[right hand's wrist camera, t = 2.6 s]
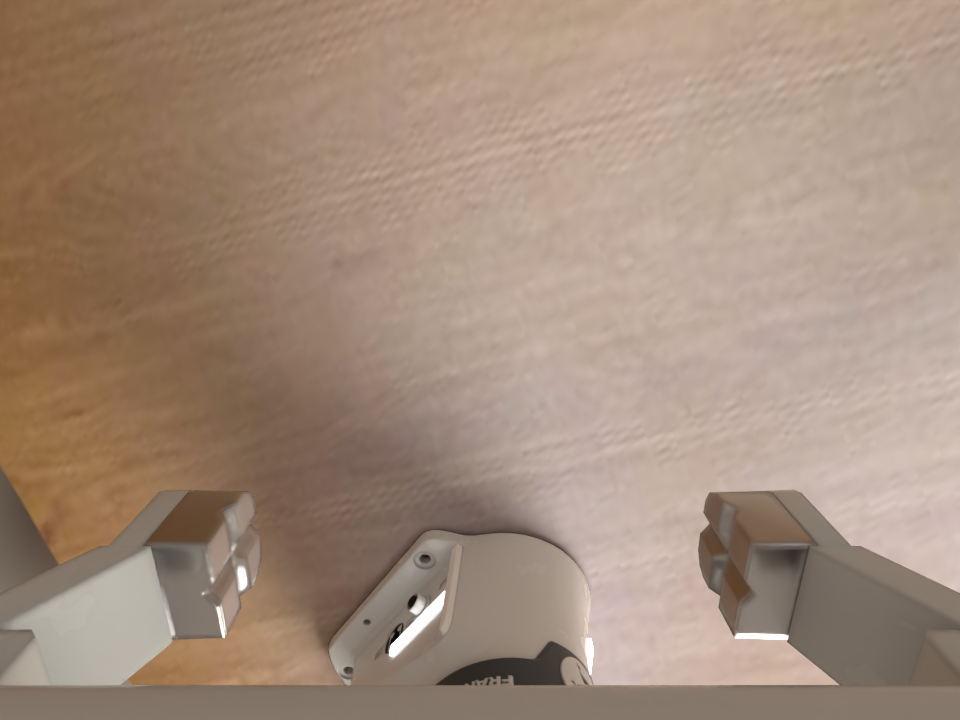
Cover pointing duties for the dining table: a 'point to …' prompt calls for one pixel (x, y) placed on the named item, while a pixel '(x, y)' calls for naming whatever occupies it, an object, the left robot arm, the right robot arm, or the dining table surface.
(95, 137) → the dining table surface
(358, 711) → the right robot arm
